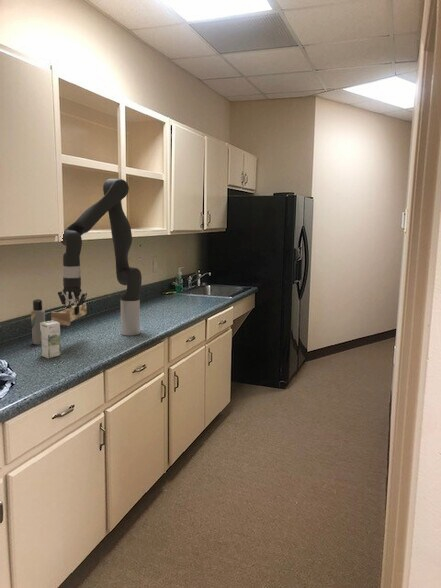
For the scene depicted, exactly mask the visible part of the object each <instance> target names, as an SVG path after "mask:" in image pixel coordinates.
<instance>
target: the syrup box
mask: <svg viewBox="0 0 441 588" xmlns="http://www.w3.org/2000/svg"><path fill="white" fill-rule="evenodd" d="M40 333H41V344H40V356H42V357H43V358H46V359H53V358H57V357H60V356H61V353H62V352H61V325H60V323H59V322H57V321H53V320H52V319H51V320H47V321H45V322H41V323H40Z"/></svg>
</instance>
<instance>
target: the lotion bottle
mask: <svg viewBox="0 0 441 588" xmlns="http://www.w3.org/2000/svg"><path fill="white" fill-rule="evenodd" d="M30 313H31V314H30V316H31V334H32V336H31V337H32V338H31V339H32V344H34V345H36V346H37V345H41V333H40V323H41V322H46V311H45V309H43V300H42V299H38V298H37V299H35V300H32V310H31V312H30Z"/></svg>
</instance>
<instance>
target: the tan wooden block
mask: <svg viewBox="0 0 441 588" xmlns="http://www.w3.org/2000/svg"><path fill="white" fill-rule="evenodd" d="M74 307H75V305H73V306H72V305H71V307H70V308H68V309H66V308H65V309H64V310H63V309H62V310H61V311H52V312H51V313H50V315H51V316H50V317H51V318H50V319H51V321H52V320H53V321H57V322H59V323H60V326H69V327H70V325H71V322H73V321H74V320H75V321H76V320H77V319H79V318H81V317H83V316H85V315H87V312H88V311H87V310H88V309H87V303H85V302H84V304H83V305H81V306H79V314H78V315H75V309H74Z"/></svg>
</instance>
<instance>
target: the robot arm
mask: <svg viewBox="0 0 441 588" xmlns="http://www.w3.org/2000/svg"><path fill="white" fill-rule="evenodd" d="M129 191H130V187H129V184H128V182H127V181H126V180H125V179H123V178H122V179H121V178H108V179H106V180H105V181H104V183H103V186H102V192H103V196H102V198H100V199H99V200H97V202H95V203H94V204H92V205H91V206H89V207H88V208H87V209H85V210H84V211H83V213H81V215H80V216H79V217H78V218H77V219H76V220H75V221H74V222H73V223H71V224H70V225H69V226H67V227H66V228H65V229H64V230H63V231H64V234H63V238H62V239H63V241H61V240H60V243H61V244H62V245H63V246H65V252H64V253H63V254H62V255H63V257H62V265H63V266H62V284H63V285H62V286H63V289H62V291H58V292H57V296H58V298H59V299H60V302H61V304H62V305H64V306H65V309H68V308H70V307H72V302H73V304H74V305H73V306H75V307H74V309H75V315H78V314H79V306H81V305H83V304H84V303H85V301H86V298H87V296H88V293H87V292H84V291H83V290H82V276H81V275H82V270H81V260H80V259H81V252H82V248H83V247H82V245H83V239H82V236H83V234H87V233H88V232H90V231H91V230H92V229H93V227H94V226H95V225H96V224H97V223H98V221H100V220H101V219H102V217H103V216H105V214H106V213H108V219H109V225H110V230H111V231H110V232H111V238H112V243H113V250H114V258H115V259H114V260H115V274H116V279H117V282H118V283H119V284H120V285H122V286H126V291H125V292H123V293H120V334H121V335H122V336H137V335H140V334H141V329H140V328H141V319H140V318H141V316H140V315H141V313H140V312H141V311H140V309H141V308H140V305H141V304H140V302H141V299H140V296H141V295H142V294H141V293H142V283H143V281H142V279H143V278H142V276H143V275H142V272H141V270H140V269H139V268H137V267H132V266H130V265H129V257H128V256H129V251H130V250H131V246H132V243H133V236H132V235H133V234H132V228H131V224H130V222H129V219H128V217H127V216H126V214H125V212H124V210H123V206H122V200H123V199H124V198H126V197H127V196H128V193H129Z"/></svg>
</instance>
